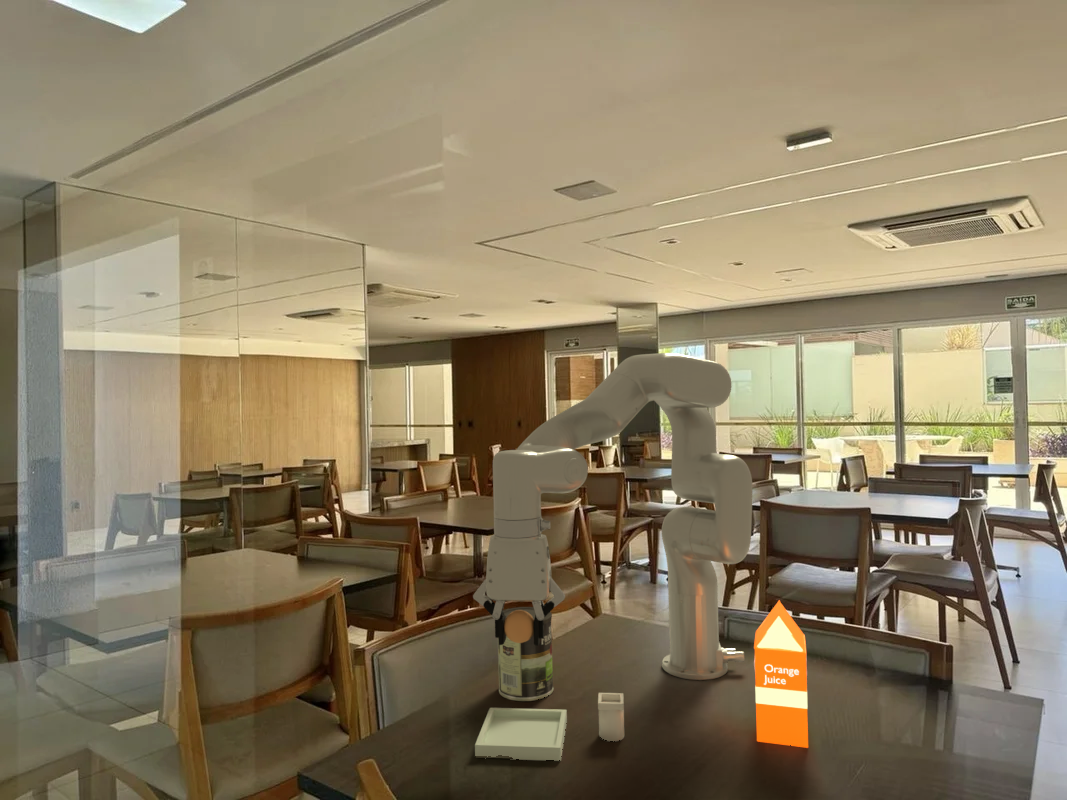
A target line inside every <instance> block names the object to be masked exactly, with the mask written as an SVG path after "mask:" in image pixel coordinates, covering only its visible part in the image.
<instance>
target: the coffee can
mask: <svg viewBox="0 0 1067 800" xmlns="http://www.w3.org/2000/svg"><path fill="white" fill-rule="evenodd" d="M516 610H524V611H526V612H528V613H529V614H530V615H531V616H532V617H533V619H535V615H536V613H535V610H534V607H533V606H518V607H512V608H507V609H503V612H504V614H505V616H506V617H507V616H508V615H509V614H510V613H511V612H513V611H516ZM552 615H553V614H552V611H550V612H549V613H548V614H547V615H546V616H545V617H544V639H540V643H539V646H535V645H534V634H533V636H532V637H531V638H530V639H529V640H528V641H526V642H523V643H516V642H513V641H511V640H510V639H509V638H508V637H507V636H506V640H505V642H504V644H503V645H499V638H497V660H498V661H497V662H498V693H499V695H500V696H501V697H503V698H505V699H507V700H510V701H515V702H516V701H517V702H532V701H538V699H539V700H542V699H545V698H548V697H549V696H551V694H552V693H553V691H554V679H553V677H554V676H553V673H554V671H553V669H554V668H553V643H552V642H553V641H552V640H553V635H552ZM548 695H549V696H548ZM544 697H545V698H544Z"/></svg>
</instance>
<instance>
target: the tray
mask: <svg viewBox="0 0 1067 800" xmlns="http://www.w3.org/2000/svg"><path fill="white" fill-rule="evenodd" d="M567 711H568V710H567V709H559V708H558V709H553V708H552V709H551V708H517V707H515V708H514V707H513V708H512V707H489V709H488V711H487V714H486V717H485V718H484V721H483V724H482V727H481V729H480V731H479V734H478V736H477V738H476V741H475V744H474V757H475V756H487V757H488V756H491V757H496V756H498V755H502V756H509V757H512V758H513V759H512V760H516V759H519V760H520V761H521V760H523V761H526V760H527V761H546V760H554V761H553V762H561V761H562V757H563V750H564V744H563V743H564V742H565V737H564V736H566V731H565V729H566V730H567V724H568V712H567ZM566 723H567V724H566ZM562 749H563V750H562ZM561 756H562V757H561ZM559 760H560V761H559Z"/></svg>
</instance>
